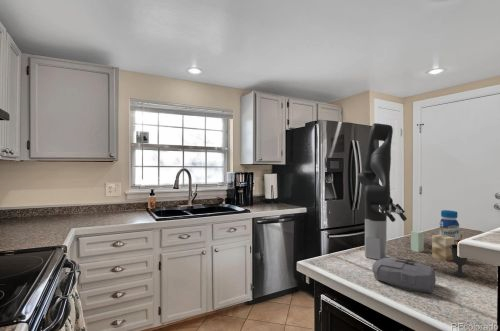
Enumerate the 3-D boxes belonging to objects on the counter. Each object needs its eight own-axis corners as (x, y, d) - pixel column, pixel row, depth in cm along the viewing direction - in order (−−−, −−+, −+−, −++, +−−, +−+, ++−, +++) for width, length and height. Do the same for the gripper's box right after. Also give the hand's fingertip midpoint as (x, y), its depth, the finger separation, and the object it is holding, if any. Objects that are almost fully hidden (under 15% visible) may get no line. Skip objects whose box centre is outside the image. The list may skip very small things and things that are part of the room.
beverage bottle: (458, 249, 137) (458, 210, 138) (460, 253, 130) (460, 212, 130) (438, 246, 142) (438, 209, 142) (439, 250, 135) (439, 211, 135)
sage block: (423, 251, 133) (423, 232, 134) (418, 252, 132) (418, 232, 132) (416, 249, 137) (416, 230, 137) (410, 249, 136) (410, 231, 136)
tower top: (454, 248, 121) (454, 237, 122) (445, 249, 119) (445, 238, 119) (440, 245, 127) (440, 234, 127) (432, 246, 125) (432, 235, 125)
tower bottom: (454, 259, 121) (454, 248, 121) (445, 261, 119) (445, 249, 119) (440, 255, 127) (440, 245, 127) (432, 257, 125) (432, 246, 125)
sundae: (466, 272, 106) (466, 234, 106) (474, 278, 99) (474, 238, 100) (446, 270, 108) (446, 233, 108) (453, 276, 101) (453, 237, 102)
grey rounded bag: (437, 283, 95) (377, 269, 108) (437, 260, 95) (377, 249, 108) (433, 298, 83) (366, 281, 96) (433, 272, 84) (366, 258, 96)
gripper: (376, 193, 150) (394, 217, 139) (395, 193, 155) (413, 215, 144) (369, 201, 154) (386, 225, 144) (387, 201, 160) (404, 223, 149)
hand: (399, 220), depth 144 cm, fingers open, 8 cm apart
